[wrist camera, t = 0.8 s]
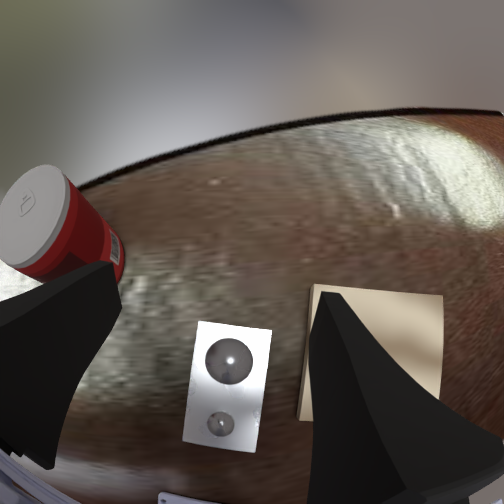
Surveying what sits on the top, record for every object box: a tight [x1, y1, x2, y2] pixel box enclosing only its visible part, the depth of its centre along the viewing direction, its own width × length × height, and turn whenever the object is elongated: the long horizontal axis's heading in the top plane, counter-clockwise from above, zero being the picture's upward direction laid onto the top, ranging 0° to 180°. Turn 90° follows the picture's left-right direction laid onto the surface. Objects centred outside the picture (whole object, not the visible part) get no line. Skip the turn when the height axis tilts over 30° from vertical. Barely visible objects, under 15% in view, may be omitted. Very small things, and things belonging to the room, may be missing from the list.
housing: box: [183, 321, 272, 453], centre depth 18 cm, size 8×4×7 cm, turn 173°
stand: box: [296, 284, 443, 421], centre depth 21 cm, size 11×13×2 cm
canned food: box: [0, 165, 124, 284], centre depth 19 cm, size 8×8×11 cm
